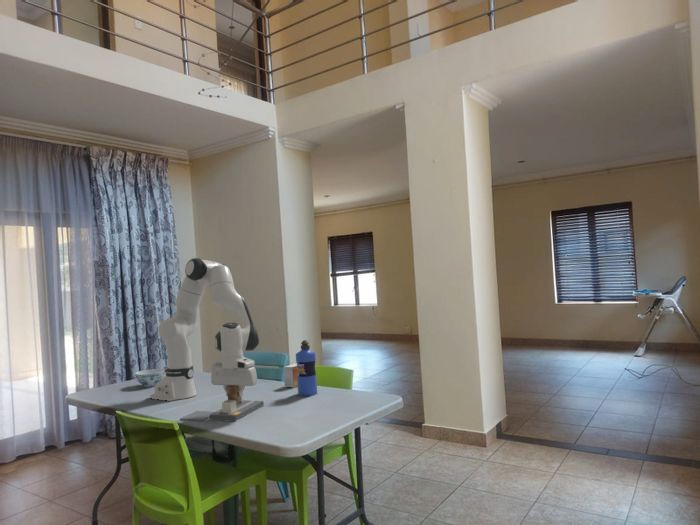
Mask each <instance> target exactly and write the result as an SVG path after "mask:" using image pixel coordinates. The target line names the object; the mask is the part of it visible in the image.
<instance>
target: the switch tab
mask: <svg viewBox="0 0 700 525" xmlns="http://www.w3.org/2000/svg"><path fill="white" fill-rule="evenodd" d="M221 409H222V412H223V413H229V412H231V411H233V410H235V409H236V400H228V399H226V400H224V401H222V402H221Z"/></svg>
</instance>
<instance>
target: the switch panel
mask: <svg viewBox="0 0 700 525" xmlns="http://www.w3.org/2000/svg"><path fill="white" fill-rule="evenodd" d="M264 404H265V403H264V401H263V400H245V399H244V400H242V404H240V405H238V406H236V409H235V410H233V411H231V412H229V413H223V412H222V408H221V409H219V410H217V411H213V412H214V413H212V414H210V418H209V420H210V419H212V420H211V421H213V420H214V421H224V420H229V421H231V422H237V421H238V419H239V420H240V418H241V419H242V418H244V417H245V416H248V415H249V413H250V414H251V413H253V412H255V411H257V410H258V409H260V408H262V407H264ZM247 414H248V415H247ZM236 420H237V421H236ZM229 421H228V422H229Z"/></svg>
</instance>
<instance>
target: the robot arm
mask: <svg viewBox="0 0 700 525" xmlns="http://www.w3.org/2000/svg"><path fill="white" fill-rule="evenodd" d="M184 271H185V272H184V273H185V277H184V279H183V280H182V283H181V285H180V289H179V291H178V294H177V296H176V298H175V306H176V311H175V315H174V316H173V317H168V318H165V319H164V320H163V321H161V322H160V324H159V325H158V327H157V334H158V335H159V337H160V338H161V339H162V340H163V342H164V345H165V350H166V352H167V353H166V354H167V364H168V365H167V367H168V368H166V369H164V373H165V376H163V377H162V379H161V380H160V381H159V382H158V383H157V384H156V386H154V393H153V394H151V395H150V396H149V399H150V398H152V399H153V400H157V399H159V400H158V401H165V400H167V401H166V402H169V401H170V402H171V401H176V400H183V399H189V398H192V397H195V396H196V395H198V393H197V391H196V386H195V379H194V365H193V356H192V349H191V347H190V346H189V343H188V342H187V337H189V336H191V335H193V334H194V333H195V332H196V331H197V329H198V321H197V319H198V318H197V317H198V310H199V307H200V303H201V302H202V298H203V296H204V292H205V291H206V290H205V289H206V286H207V285H208V288H209V295H210V298H211V301H212V302H213V303H214V304H215V305H217V306H218V307H220V308H225V309H228V310H231V311H234V312H236V313H237V314H238V315H239V318H240V320H241V323H242V326H243V327H241V324H240V323H237V322H226V323H224V324H222V325H221V328H220V329H221V330H220V331H218V332H217V333H216V334H215V349H216V350H217V351H218V352H221V353H222V354H221V362H220V361H219V362H218V361H217V362H214V363H212V364H211V375H210V383H211V384H212V386H223V387H222V388H223V389H224V391H225V394H226V395H225V396H226V397H228V393H227V386H229V385H233V386H239V388H241V389H240V391H239V392H237V394H238V396H242V397H243V395H244V390H245V388H246V387H253V386H256V384H257V382H258V375H257V370H256V367H255V365H256V363H255V360H254V359H250V358H249V357H246V356H244V351H246V352H247V351H249V352H250V351H252V352H253V351H254V350H255V349H256V348H257V347H258V346H259V345H260V335H259V332H258V330H257V329H256V327H255V324H254V322H253V319H252V316H251V313H250V311H249V308H248V304H247V302H246V301H245V300H246V299H245V298H244V296H242V295H241V294H239V293H238V292H237V290H236V288H235V284H234V283H235V282H234V280H233V275H232V271H231V269H230V267H229V266H228V265H227V264H224V263H220V262H217V261H214V260H209V259H208V260H207V259H201V258H199V257H198V258H196V257H195V258H190V260H188V262H187V263H186V265H185V269H184Z"/></svg>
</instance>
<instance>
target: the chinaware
mask: <svg viewBox="0 0 700 525" xmlns="http://www.w3.org/2000/svg"><path fill="white" fill-rule="evenodd" d="M164 370H165V369H163V368H153V369H152V368H151V369H144V370H139V371H136V372H134V376H135V379H136V381H137V382H138V383H139V384H141V385H142V386H143V387H144V388H152V387H151V386H153V387H155V385H156V384H157V383H158V382H160V381H161V380H162V379H163V378H164V374H165V371H164Z"/></svg>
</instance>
